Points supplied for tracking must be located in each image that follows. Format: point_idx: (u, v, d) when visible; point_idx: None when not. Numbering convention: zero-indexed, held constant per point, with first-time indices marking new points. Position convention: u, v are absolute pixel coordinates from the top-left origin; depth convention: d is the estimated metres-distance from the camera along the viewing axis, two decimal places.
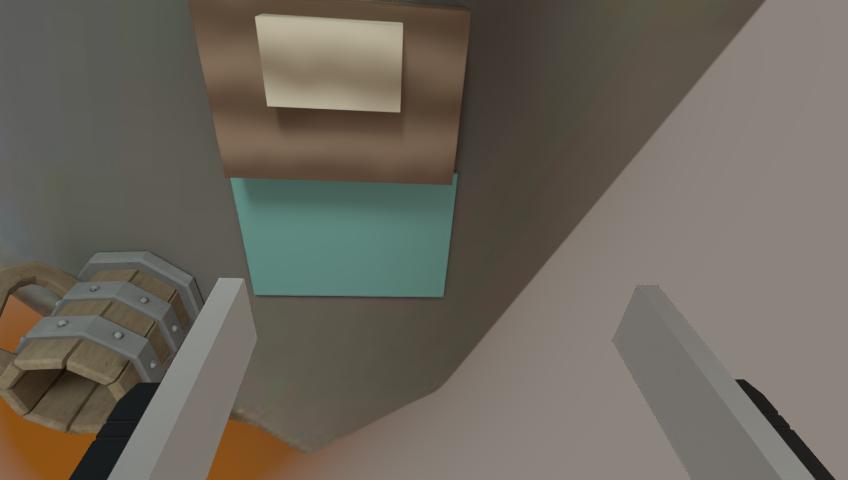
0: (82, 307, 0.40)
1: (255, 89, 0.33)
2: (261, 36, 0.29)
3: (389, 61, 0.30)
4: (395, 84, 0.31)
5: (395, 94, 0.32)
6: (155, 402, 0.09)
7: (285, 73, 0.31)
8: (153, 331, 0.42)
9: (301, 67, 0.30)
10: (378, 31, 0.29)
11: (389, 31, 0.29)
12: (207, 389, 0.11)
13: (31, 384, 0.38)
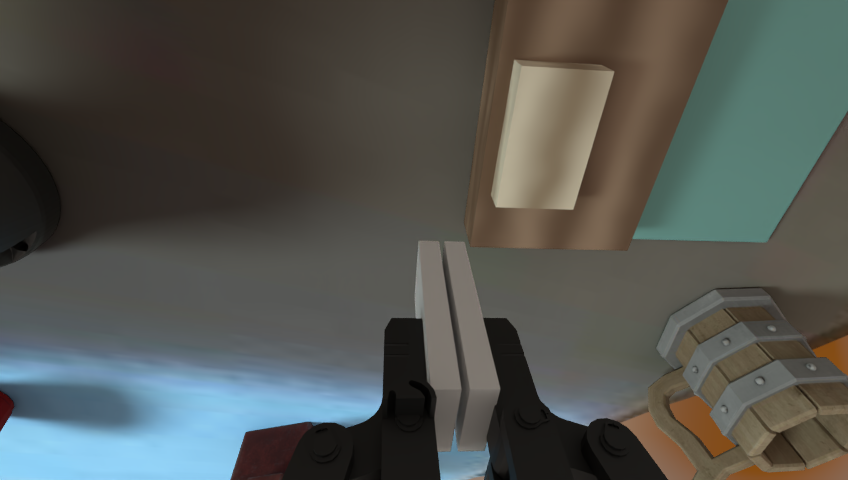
0: (711, 386, 0.43)
1: (553, 211, 0.34)
2: (512, 204, 0.32)
3: (555, 83, 0.27)
4: (581, 76, 0.27)
5: (592, 76, 0.27)
6: (430, 327, 0.12)
7: (547, 189, 0.31)
8: (767, 349, 0.40)
9: (544, 174, 0.30)
10: (523, 94, 0.27)
11: (524, 81, 0.27)
12: None
13: (774, 448, 0.41)
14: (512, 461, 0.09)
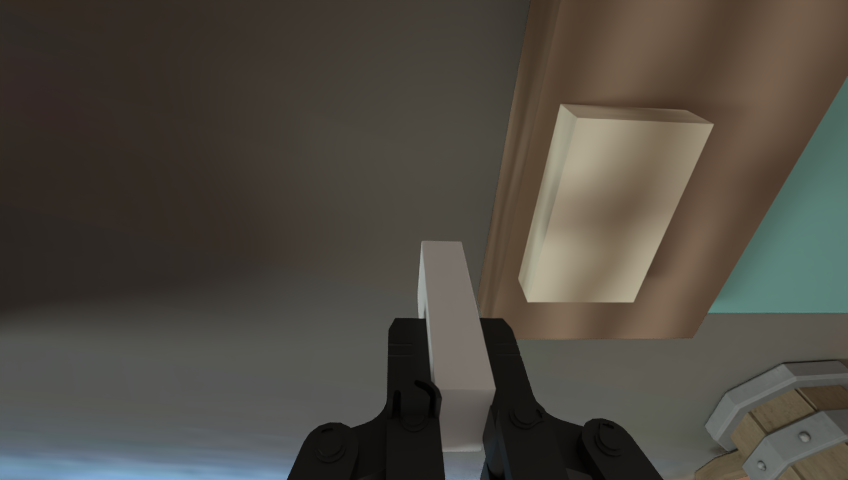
0: None
1: None
2: (550, 298, 0.23)
3: (624, 142, 0.18)
4: (664, 131, 0.18)
5: (680, 132, 0.18)
6: (434, 327, 0.12)
7: (599, 279, 0.22)
8: None
9: (598, 261, 0.21)
10: (576, 157, 0.18)
11: (580, 140, 0.18)
12: None
13: None
14: (507, 461, 0.09)
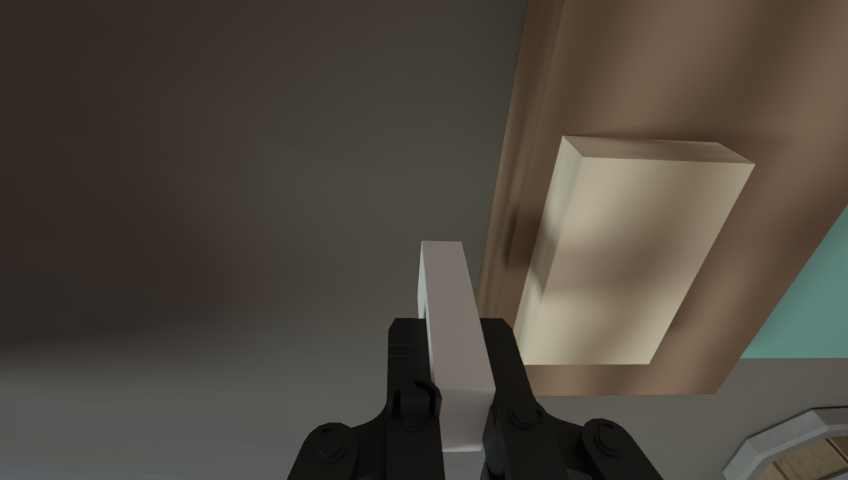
0: None
1: None
2: (550, 360, 0.19)
3: (642, 185, 0.14)
4: (692, 173, 0.14)
5: (712, 173, 0.14)
6: (434, 327, 0.12)
7: (609, 339, 0.19)
8: None
9: (607, 320, 0.18)
10: (581, 203, 0.15)
11: (586, 183, 0.14)
12: None
13: None
14: (507, 461, 0.09)
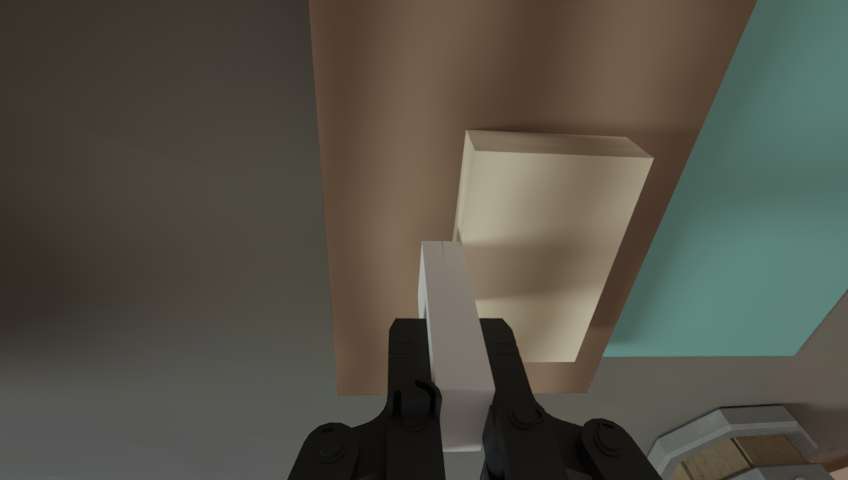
0: None
1: None
2: None
3: (540, 180, 0.14)
4: (590, 167, 0.14)
5: (611, 167, 0.14)
6: (434, 327, 0.12)
7: (530, 337, 0.18)
8: None
9: (525, 317, 0.18)
10: (481, 198, 0.14)
11: (483, 178, 0.14)
12: None
13: None
14: (507, 461, 0.09)
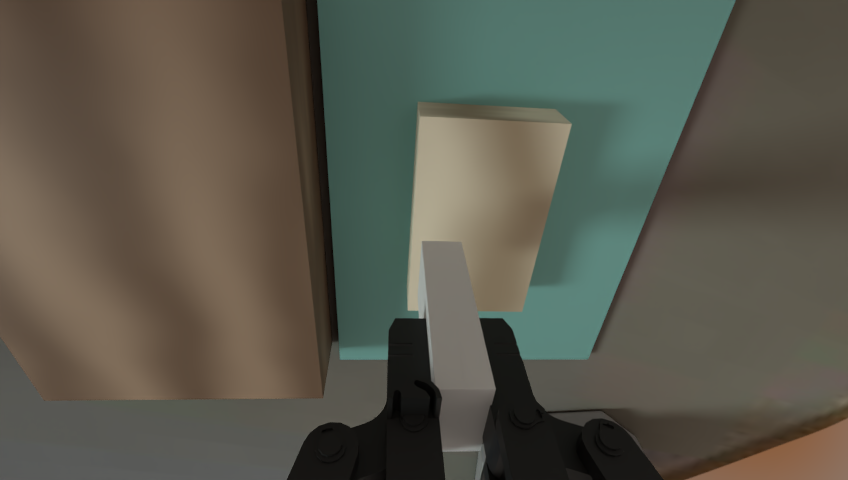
0: None
1: (154, 351, 0.20)
2: None
3: None
4: None
5: None
6: (434, 327, 0.12)
7: None
8: None
9: None
10: None
11: None
12: None
13: None
14: (507, 461, 0.09)
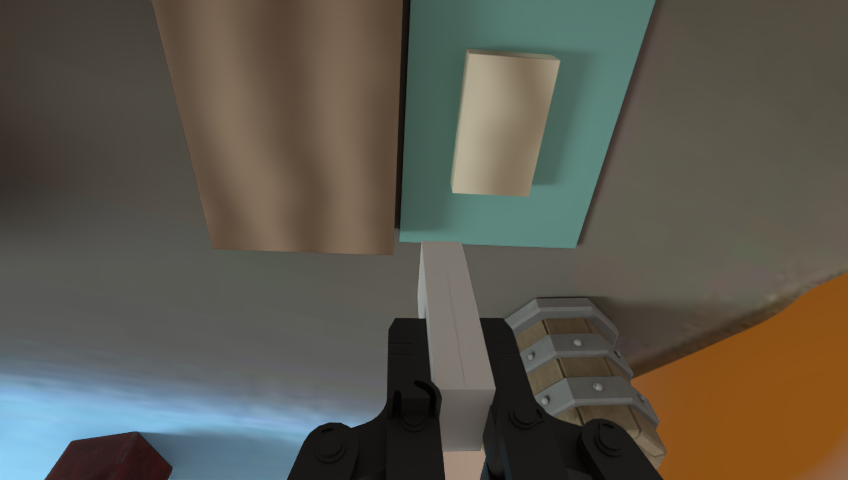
0: None
1: (291, 211, 0.31)
2: None
3: None
4: None
5: None
6: (434, 327, 0.12)
7: None
8: (565, 365, 0.37)
9: None
10: None
11: None
12: None
13: None
14: (507, 461, 0.09)
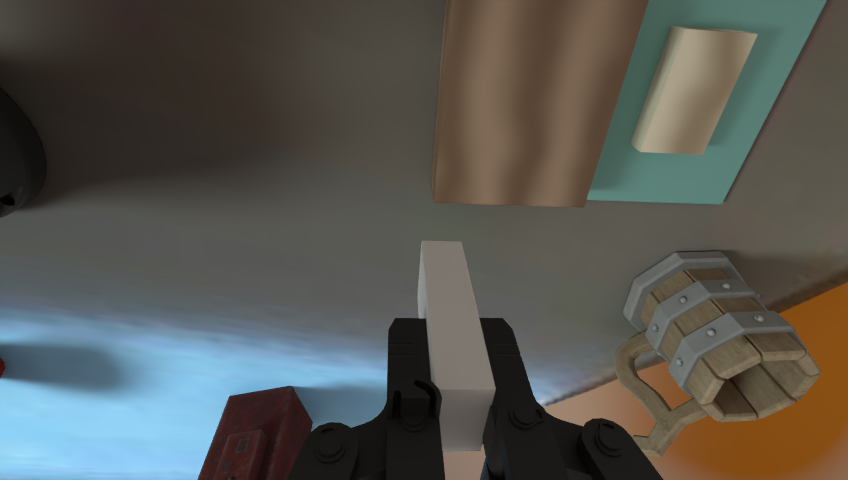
0: (670, 342, 0.45)
1: (510, 167, 0.36)
2: None
3: None
4: None
5: None
6: (434, 327, 0.12)
7: None
8: (720, 304, 0.42)
9: None
10: None
11: None
12: None
13: (728, 400, 0.43)
14: (507, 461, 0.09)
